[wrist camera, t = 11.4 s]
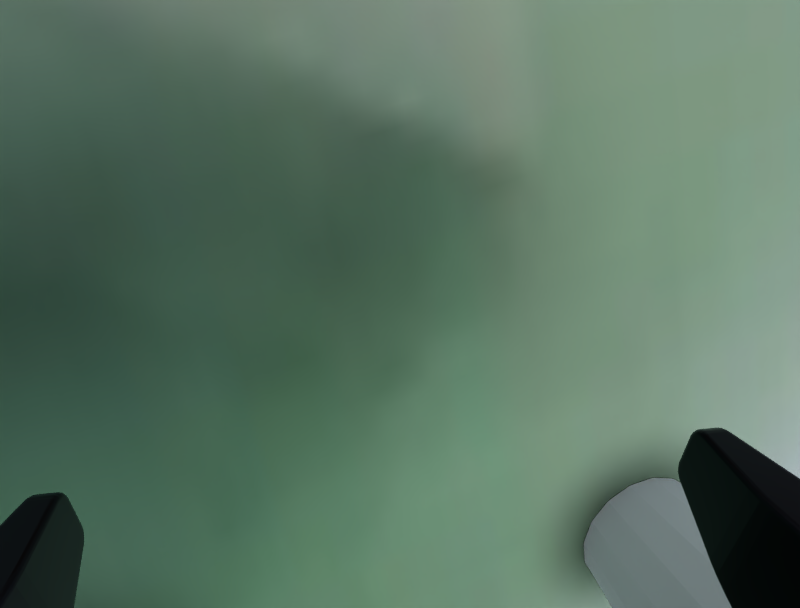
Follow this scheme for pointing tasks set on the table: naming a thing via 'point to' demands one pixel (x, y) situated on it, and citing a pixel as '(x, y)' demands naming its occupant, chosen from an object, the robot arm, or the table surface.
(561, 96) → the table surface
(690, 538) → the shot glass
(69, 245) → the table surface
